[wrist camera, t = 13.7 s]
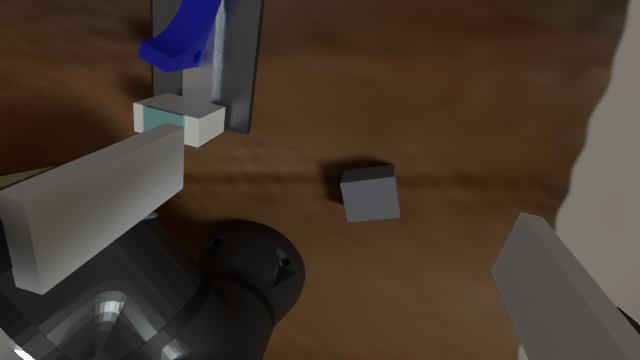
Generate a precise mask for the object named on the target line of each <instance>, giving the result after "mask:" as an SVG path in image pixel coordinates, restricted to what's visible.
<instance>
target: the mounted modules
mask: <svg viewBox="0 0 640 360" xmlns="http://www.w3.org/2000/svg"><path fill="white" fill-rule="evenodd" d="M133 104H134V131H136V132H140V133H142V132H145V131H147V130H150V129H152V128H154V127H157V126H159V125H162V124H164V123H170V124H174V125H178V126H182V127H185V129H184V144H187V145H191V146H194V147H199V146H201V145H203V144H204V143H206V142H207V141H209V140H211V139H212V138H214V137H216V136H217V135H219V134H221V133H222V132H223V131H224V118H225V107H224V106H220V105H216V104H212V103H208V102H203V101H199V100H195V99H191V98H187V97H183V96H179V95H175V94H171V93H166V94H162V95H159V96H155V97H152V98H148V99H145V100H141V101H137V102H134V103H133Z"/></svg>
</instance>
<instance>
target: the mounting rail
mask: <svg viewBox="0 0 640 360" xmlns="http://www.w3.org/2000/svg"><path fill="white" fill-rule="evenodd" d="M264 1H265V0H222V1H221V4H220V7H219V10H218V13H217V15H216V18H215V21H214V24H213V26H212V29H211V32H210V35H209V38H208V40H207V43H206V46H205V49H204V52H203V54H202V57H201V60H200V63H199V65H198V67H195V68H190V69H184V70H179V71H173V72H168V73H166V72H164V71H162V70H161V69H159V68H157V67H156V66H154V65H153V81H154V97H155V96H159V95H162V94H166V93H171V94H175V95H179V96H183V97H187V98H191V99H195V100H199V101H203V102H208V103H212V104H216V105H220V106H224V107H225V118H224V129H227V130H231V131H235V132H238V133H242V134H246V135H247V134H248V133H250V126H251V117H252V108H253V99H254V91H255V82H256V73H257V64H258V55H259V46H260V37H261V28H262V19H263V10H264ZM181 3H182V0H153V38H154V37H156V36H157V35H159V34H160V33H161V32H163V31H164V30H165V29H166V28H167V26H168V25H169V24H170V23H171V21H172V20H173V18H174V17H175V15H176V13H177V12H178V10H179V7H180V5H181Z"/></svg>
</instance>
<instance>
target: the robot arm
mask: <svg viewBox="0 0 640 360" xmlns="http://www.w3.org/2000/svg"><path fill="white" fill-rule="evenodd" d="M184 129H185V127H182V126H178V125H174V124H170V123H164V124H162V125H159V126H157V127H154V128H152V129H150V130H147V131H145V132H142V133H140V134H137V135H135V136H133V137H130V138H128V139H125V140H123V141H120V142H118V143H115V144H113V145H111V146H108V147H106V148H103V149H101V150H98V151H96V152H94V153H91V154H89V155H86V156H84V157H81V158H79V159H76V160H74V161H72V162H69V163H67V164H62V165H57V166H54V167H51V168H49V169H46V170H44V171H41V172H39V174H34V175H31V176H29V177H26V178H25V180H22V179H21V180H19V181H16V182H14V183H11V184H9V185H6V186H4V187H1V188H0V360H262V359H263V356H264V353H265V351H266V348H267V345H268V342H269V340H270V337H271V334H272V332H273V329H274V327H275V326H276V325H277V323H278V322H279V321H280V320H281V319H282V318H283V317H284V316H285V315H286V314H287V313H288V312H289V311H290V309H291V308H292V307H293V306H294V305H295V304H296V302H297V300H298V299H299V297H300V294H301V291H302V288H303V285H304V282H305V268H304V264H303V261H302V258H301V256H300V254H299V252H298V251H297V249H296V248H295V247H294V245H293V244H292V243H291V242H290V241H289V240H288V239H287V238H285V237H284V236H283V235H281V234H280V233H278V232H277V231H275V230H273V229H271V228H269V227H266V226H264V225H260V224H256V223H247V222H242V223H234V224H230V225H227V226H225V227H223V228H221V229H220V230H218V231H217V232H216V233H215V234H214V235H213V236H212V237H211V238H210V240H209V241H208V242H207V243H206V245H205V246H204V248H203V250H202V251H201V254H200V257H199V261H198V264H197V266H196V265H195V264H194V262H193V261H192V260H191V259H190V258H189V256H188V255H187V254H186V253H185V251H184V250H183V249H182V248H181V247H180V245H179V244H178V243H177V242H176V240H175V239H174V238H173V237H172V235H171V234H170V233H169V232H168V230H167V229H166V228H165V227H164V226H163V224H162V223H161V222H160V221H159V219H158V218H157V217H158V215H157V213H155V212H152V211H154V210H155V209H156V208H157V207H159V206H160V205H161V204H163V203H164V202H165V201H167V200H168V199H169V198H171V197H172V196H173V195H175V194H176V193H177V192H178V191H180V190H181V189H182V188H183V166H184ZM491 273H492V275H493V277H494V280H495V282H496V285H497V287H498V289H499V292H500V294H501V296H502V299H503V301H504V303H505V306H506V308H507V310H508V313H509V315H510V317H511V320H512V322H513V324H514V327H515V329H516V331H517V334H518V336H519V339H520V341H521V343H522V346H523V348H524V350H525V353H526V355H527V357H528V360H640V325H639V324H638V323H637V322H636V321H635V320H633V319H632V318H631V317H630V316H628V315H627V314H626V313H625V312H624V311H622V310H621V309H620V308H619V307H616V306H615V305H614V303H613V302H612V301H611V300H610V299H609V298H608V296H607V295H606V294H605V293H604V291H603V290H602V289H601V288H600V286H599V285H598V284H597V283H596V282H595V280H594V279H593V278H592V277H591V276H590V274H589V273H588V272H587V271H586V269H585V268H584V267H583V266H582V265H581V263H580V262H579V261H578V260H577V259H576V258H575V256H574V255H573V254H572V253H571V251H570V250H569V249H568V248H567V247H566V245H565V244H564V243H563V242H562V241H561V239H560V238H559V237H558V236H557V234H556V233H555V232H554V231H553V230H552V228H551V227H550V226H549V225H548V223H547V222H546V221H545V220H544V219H543V218H542V217H539V216H535V215H531V214H527V213H523V212H521V213H520V215H519V217H518V219H517V221H516V223H515V225H514V227H513V229H512V231H511V233H510V235H509V237H508V238H507V240H506V242H505V244H504V246H503V248H502V250H501V252H500V254H499V256H498V258H497V260H496V262H495V264H494V266H493V268H492V270H491Z"/></svg>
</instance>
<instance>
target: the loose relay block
mask: <svg viewBox="0 0 640 360" xmlns="http://www.w3.org/2000/svg"><path fill="white" fill-rule="evenodd" d="M340 186H341V191H342V196H343V201H344V206H345V211H346V216H347V221H348V222H358V221H369V220H380V219H391V218H400V202H399V195H398V188H397V181H396V173H395V166H394V164H392V165H385V166H377V167H369V168H362V169H354V170H346V171H344V173H343V176H342V179H341V182H340Z"/></svg>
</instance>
